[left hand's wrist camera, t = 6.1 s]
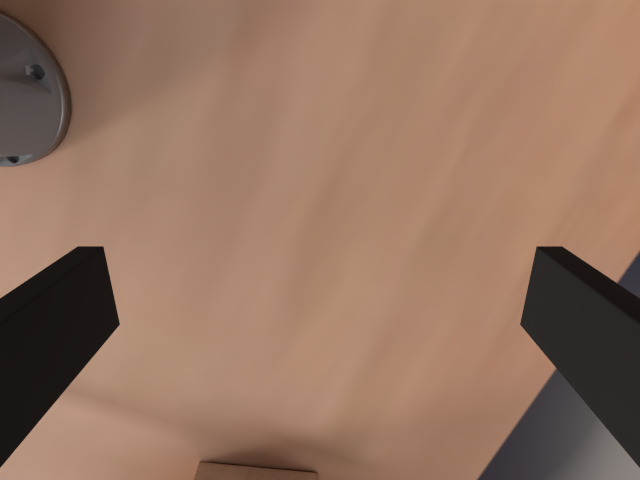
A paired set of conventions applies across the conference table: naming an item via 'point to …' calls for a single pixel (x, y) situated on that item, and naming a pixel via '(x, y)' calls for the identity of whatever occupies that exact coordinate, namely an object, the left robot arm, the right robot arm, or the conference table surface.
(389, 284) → the conference table surface
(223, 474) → the box
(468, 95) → the conference table surface
